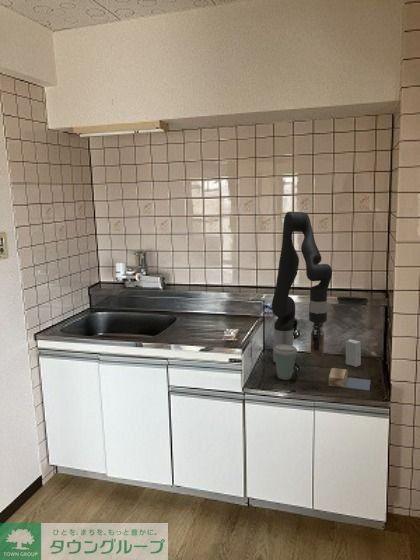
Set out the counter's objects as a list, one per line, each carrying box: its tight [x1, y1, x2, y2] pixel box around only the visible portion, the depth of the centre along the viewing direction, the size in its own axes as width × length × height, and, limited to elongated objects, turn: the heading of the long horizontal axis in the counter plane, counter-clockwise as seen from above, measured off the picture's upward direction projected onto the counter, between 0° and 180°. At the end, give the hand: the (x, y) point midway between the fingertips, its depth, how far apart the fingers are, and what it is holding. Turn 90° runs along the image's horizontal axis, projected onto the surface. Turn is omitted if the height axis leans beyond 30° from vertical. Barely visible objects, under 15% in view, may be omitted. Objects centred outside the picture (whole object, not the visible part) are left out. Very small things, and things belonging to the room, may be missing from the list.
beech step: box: [328, 367, 349, 388], centre depth 206 cm, size 7×11×4 cm, turn 159°
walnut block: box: [310, 330, 325, 357], centre depth 200 cm, size 5×4×10 cm
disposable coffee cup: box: [274, 344, 298, 381], centre depth 211 cm, size 11×11×15 cm
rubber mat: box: [345, 376, 372, 392], centre depth 203 cm, size 10×11×1 cm
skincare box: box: [345, 338, 362, 368], centre depth 224 cm, size 6×4×12 cm
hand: (317, 348), depth 201 cm, fingers closed on walnut block, 4 cm apart
